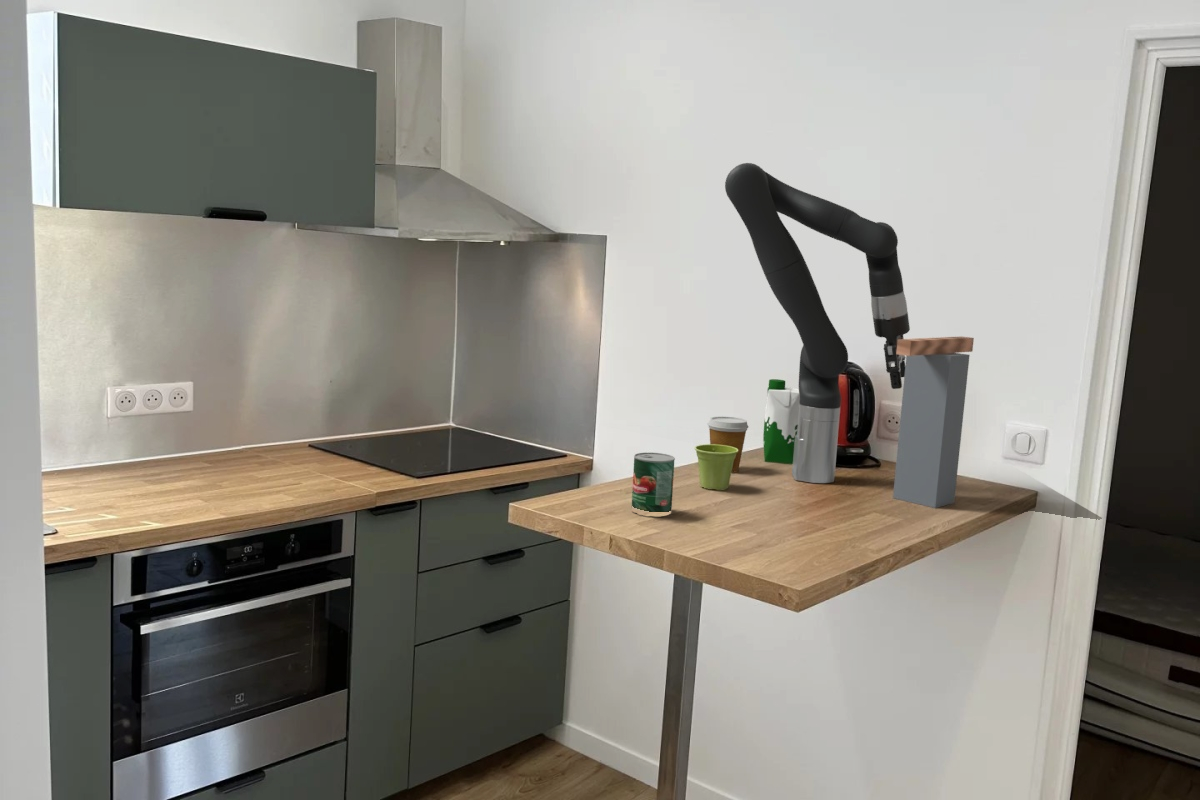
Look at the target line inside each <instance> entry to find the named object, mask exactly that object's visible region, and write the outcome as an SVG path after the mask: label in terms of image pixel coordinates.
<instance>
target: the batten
mask: <svg viewBox="0 0 1200 800" xmlns="http://www.w3.org/2000/svg"><path fill="white" fill-rule="evenodd" d="M973 350H974V337H970V336H969V337H968V336H945V337H944V336H943V337H942V336H941V337H922V338H921V337H920V338H904V339H898V341H897V352H896V354H898V355H905V357H906V356H915V355H930V354H945V353H969V352H970V353H972V352H973Z"/></svg>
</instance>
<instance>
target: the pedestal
mask: <svg viewBox="0 0 1200 800" xmlns="http://www.w3.org/2000/svg"><path fill="white" fill-rule="evenodd" d="M905 357H906V359H905V376H904V377H903V385H902V387H903V389H902V399H901V410H900V419H899V420H900V421H899V430H898V440H897V451H896V462H895V469H894V470H895V471H894V481H893V490H892V491H893V492H892V493H893V494H892V499H896V500H900V501H904V502H909V503H913V504H917V505H920V506H925V507H929V508H933V509H937V508H940V507H941V508H942V507H943V506H948V505H952V504H955V498H956V488H957V478H958V468H959V461H960V451H961V450H960V449H961V441H962V432H963V423H964V422H963V421H964V413H965V412H964V410H965V404H966V403H965V402H966V392H967V384H968V374H969V373H968V372H969V364H970V357H971V356H970V354H967V353H966V354H965V353H961V352H959V353H945V354H930V355H915V356H906V355H905Z"/></svg>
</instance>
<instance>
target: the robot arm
mask: <svg viewBox="0 0 1200 800" xmlns="http://www.w3.org/2000/svg"><path fill="white" fill-rule="evenodd" d="M724 185H725V186H724V188H725V193H726V196H727V197H728V199H729V201H730V202H731V203H732V205H733V207H734V209H735V210H736V212H737V213H738V215H739V217H740V219H741V221H742V222H743V224H744V225H745V228H746V229H747V232H748V234H749V235H750V239H751V242H752V245H753V248H754V252H755V254H756V257H757V259H758V262H759V265H760V267H761V270H762V272H763V274H764V276H765V279H766V281H767V283H768V284H769V288H770V289H771V291H772V293H773V295H774V297H775V298H776V299H777V301H778V303H779V304H780V306H781V307H782V310H784V311H785V313H786V315H787V316H788V317H789V318H790V320H791V321H792V323H793V324H794V326H795V328H796V330H797V332H798V334H799V336H800V337H799V338H800V340H801V341H802V344H803V345H802V347H801V351H800V355H799V356H800V357H799V368H798V371H799V372H798V389H799V394H800V402H799V403H800V404H799V415H798V427H797V435H795V442H794V454H793V464H792V468H791V476H792V477H793V479H794V480H795V481H799V482H800V481H801V482H805V483H813V484H830V483H834V481H835V475H836V463H837V453H838V452H837V451H838V440H839V439H838V437H839V428H840V414H841V406H842V395H841V391H840V385H839V383H840V382H839V380H840V375H841V374H842V373H843V372H844V371H845V370H846V369H847V366H848V362H849V353H848V349H847V346H846V345H845V343H844V341H843V340H842V338H841V337H840V335H839V333H838V331H837V330H836V328H835V326H834V325H833V323H832V321H831V319H830V317H829V316H828V314H827V312H826V310H825V308H824V305H823V302H822V299H821V296H820V294H819V291H818V289H817V286H816V283H815V281H814V278H813V276H812V273H811V271H810V269H809V267H808V264H807V263H806V261H805V260H806V259H805V258H804V256H803V254H802V252H801V250H800V248H799V246H798V244H797V243H796V241H795V240H794V238H793V236H792V235H791V233H790V231H789V230H788V229H787V228H786V226H785V224H784V223H783V221H782V220H781V219H782V218H781V217H780V216H779V214H781V215H783V216H786V217H788V218H790V219H792V220H794V221H796V222H798V223H799V224H801V225H803V226H805V227H807V228H808V229H811V230H813V231H816V232H817V233H819V234H822V235H825V236H827V237H829V238H831V239H834V240H837V241H840V242H842V243H845V244H847V245H849V246H850V247H852V248H855V249H856V250H858V251H860V252H862V253H864V254H865V259H866V264H867V268H868V283H869V291H870V297H871V299H870V301H871V303H870V305H871V313H872V320H873V327H874V329H873V330H874V334H875V336H876V337H878V338H885V343H883V351H884V359H885V366H886V368H885V370H886V373H887V374H889V379H890V386H891V389H893V390H896V389H897V390H899V389H902V387H903V382H902V378H904V376H905V365H906V355H898V354H896V352H897V341H898V339H905V338H904V335H906V334H908V333H909V332H910V329H911V327H910V319H909V313H908V305H907V304H908V303H907V300H906V295H905V291H904V282H903V277H902V272H901V268H900V266H899V257H898V256H899V255H898V248H897V247H898V244H899V242H898V240H899V239H898V236H897V235H898V234H897V233H896V231H895V229H894V228H893V227H892V226H891V225H890V224H888V223H886V222H881V221H878V222H877V221H876V222H875V221H873V220H870V219H867V218H866V217H862V216H860V215H859V213H857V212H855V211H853V210H852V209H850V208H847V207H844V206H842V205H840V204H837V203H835V202H833V201H829V200H827V199H825V198H823V197H822V198H821V197H819V196H815V195H813V194H811V193H808V192H805V191H802V190H800V189H798V188H795V187H793V186H791V185H789V184H787V183H785V182H784V181H781V180H779V179H778V178H776V177H774V176H773V175H771V174H770V173H768V172H766V171H765V170H764V169H763V168H762V167H760V166H759V165H757V164H755V163H751V162H745V163H740V164H738V165H735V167H734V168H732V169H731V170H730V171H729V173H728V174H727V175H726V179H725V182H724ZM892 364H894V366H892Z"/></svg>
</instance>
